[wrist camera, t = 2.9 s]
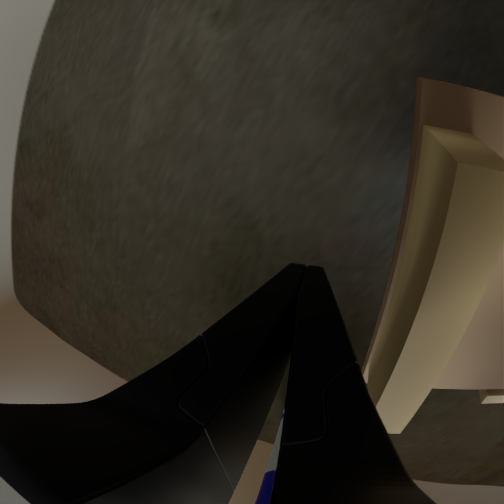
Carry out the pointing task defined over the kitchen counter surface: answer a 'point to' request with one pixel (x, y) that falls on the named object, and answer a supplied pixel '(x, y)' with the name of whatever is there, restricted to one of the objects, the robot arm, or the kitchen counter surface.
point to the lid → (444, 258)
